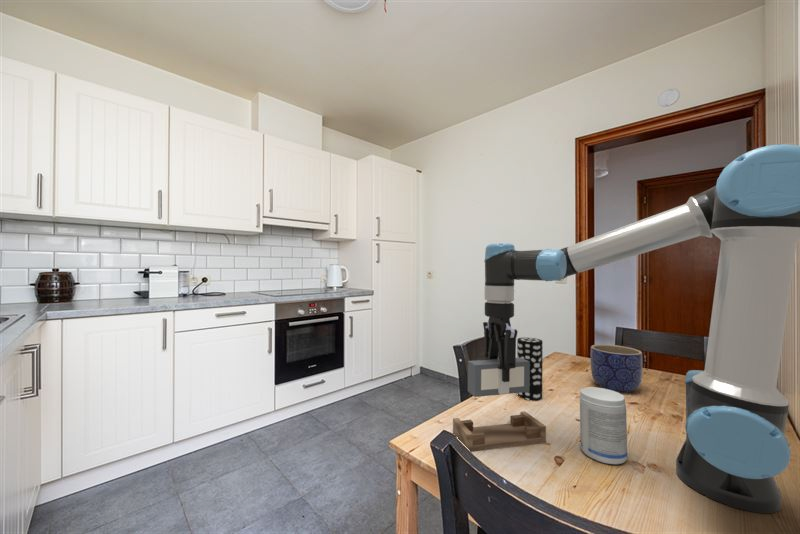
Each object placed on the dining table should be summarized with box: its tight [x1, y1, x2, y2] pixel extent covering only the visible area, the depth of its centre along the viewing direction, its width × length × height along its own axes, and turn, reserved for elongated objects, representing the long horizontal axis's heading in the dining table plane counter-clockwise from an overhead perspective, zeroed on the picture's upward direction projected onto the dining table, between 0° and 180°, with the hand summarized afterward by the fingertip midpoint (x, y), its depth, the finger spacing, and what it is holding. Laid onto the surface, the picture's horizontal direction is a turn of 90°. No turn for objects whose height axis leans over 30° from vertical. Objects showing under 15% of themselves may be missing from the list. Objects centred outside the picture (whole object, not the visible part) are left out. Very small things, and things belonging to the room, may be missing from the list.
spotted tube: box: [516, 337, 544, 402], centre depth 114 cm, size 8×8×20 cm
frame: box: [467, 357, 530, 398], centre depth 85 cm, size 4×16×8 cm, turn 105°
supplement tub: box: [579, 386, 628, 465], centre depth 77 cm, size 10×10×15 cm
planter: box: [590, 344, 643, 394], centre depth 123 cm, size 17×17×15 cm
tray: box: [452, 411, 547, 453], centre depth 84 cm, size 9×22×4 cm, turn 103°
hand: (498, 389), depth 84 cm, fingers closed on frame, 4 cm apart
